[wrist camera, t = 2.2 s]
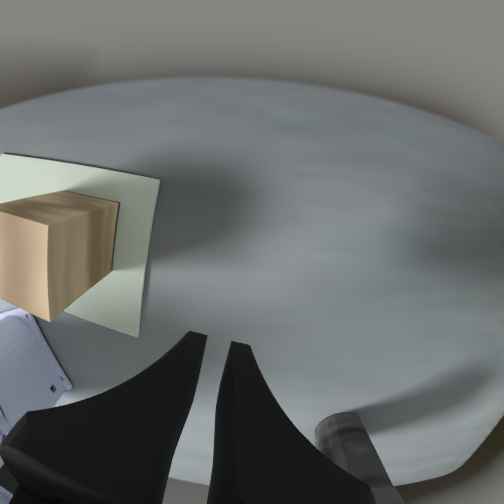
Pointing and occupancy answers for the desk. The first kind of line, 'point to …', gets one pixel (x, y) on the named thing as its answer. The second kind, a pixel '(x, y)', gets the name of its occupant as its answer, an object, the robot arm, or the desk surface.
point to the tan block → (55, 249)
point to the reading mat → (127, 235)
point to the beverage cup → (355, 454)
